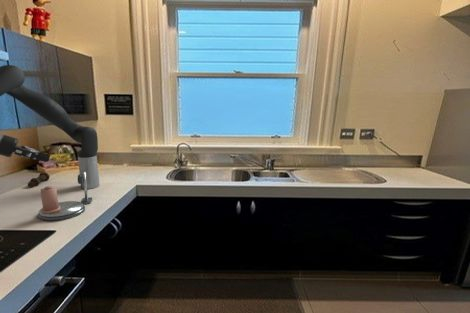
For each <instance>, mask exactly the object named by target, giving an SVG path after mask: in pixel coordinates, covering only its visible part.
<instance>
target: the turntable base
mask: <svg viewBox="0 0 470 313" xmlns="http://www.w3.org/2000/svg"><path fill="white" fill-rule="evenodd" d="M83 206H84V207H83V209H82V210H81V211H79V212H77V213H74V214H71V215H68V216H63V217H56V218H45V217H42V216H40V215H39V212H38V213H37V218H38V219H39V220H40V221H42V220H43V221H44V222H58V221H59V222H60V221H63V220H64V221H65V220H69V219H72V218H75V217H79V216H80V215H81V213H82V214H83V213H84V212H85V211H86V205H85V204H83ZM43 221H42V222H43Z"/></svg>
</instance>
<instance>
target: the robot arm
mask: <svg viewBox="0 0 470 313" xmlns="http://www.w3.org/2000/svg"><path fill="white" fill-rule="evenodd" d="M25 76H26V75H25V73H24V72H23V70H22V69H21V68H20V67H18V66H16V65H13V64H5V65H1V66H0V97H2V96H4V95H5V94H6V95H8V96H10V97H12V98H14V99H15V100H16V101H19V102H20V103H21V104H23V105H24V106H26V107H27V108H29V109H31V111H33V112H35V114H37V115H38V116H40V117H41V118H42V119H44V120H45V121H47V122H49V123H50V124H51V125H54V126H55V127H56V128H58V129H60V130H61V131H63V132H64V133H65V134H66V135H67V136H69V137H70V138H71V139H72V140H73V141H75V142H76V143H78V144H81V149H80V150H79V151H77V162H78V169H79V170H78V172H79V174H83V173H82V172H85V173H86V183H87V190H88V189H96V188H99V187H100V176H99V175H100V174H99V173H100V172H99V166H98V164H99V163H98V152H99V151H98V150H99V145H98V144H99V142H98V141H99V139H98V132H97V131H96V129H95V128H94V127H91V126H83V125H80V124H78V123H77V122H75V121H74V120H73V119H71V118H70V116H69V114H68V112H66V110H65V109H64V107H62V105H60V104H59V103H58V102H57V101H55V100H54V99H52V98H50V97H48V96H46V95H44V94H42V93H39V92H36V91H34V90H32V89H30V88H29V87H26V86H25V85H24V83H25V80H26V78H25ZM18 143H19V139H18V138H15V137H13V136H9V135H6V134H4V133H0V156H3V157H6V158H11V157H12V156H13V155H15V156H18V157H23V158H25V159H30V160H37V161H41V162H44V163H47V162H48V161H49V159H50V157H51V155H50V154H48V153H44V152H42V151H40V150H38V149H35V148H32V147H29V146H27V145H18ZM83 189H84V183H83V184H82V190H83Z"/></svg>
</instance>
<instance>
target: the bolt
mask: <svg viewBox="0 0 470 313" xmlns="http://www.w3.org/2000/svg"><path fill="white" fill-rule="evenodd" d="M50 177H51V176H50V174H49V173H48V172H46V171H45V172H39V175H38V177H33V178H31V179H30V181H28V183H27V186H28V187H29V188H34V187H37V186H39V185H40V184H41V183H42V182H47V181H49V180H50Z"/></svg>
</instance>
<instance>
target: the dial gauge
mask: <svg viewBox="0 0 470 313" xmlns="http://www.w3.org/2000/svg"><path fill="white" fill-rule="evenodd" d="M82 173H83V174H80V173H79V174H78V175H77V184H79V185H80V190H83V188H82V184H83V183H84V190H83V192H84V193H83V194H84V197H83V198H82V199H81V200H80V202H81V203H83V205H89V204H92V202H93V200H94V199H93V197H92V196H91V197H89V195H88V189H87V183H86V173H85V172H82Z"/></svg>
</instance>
